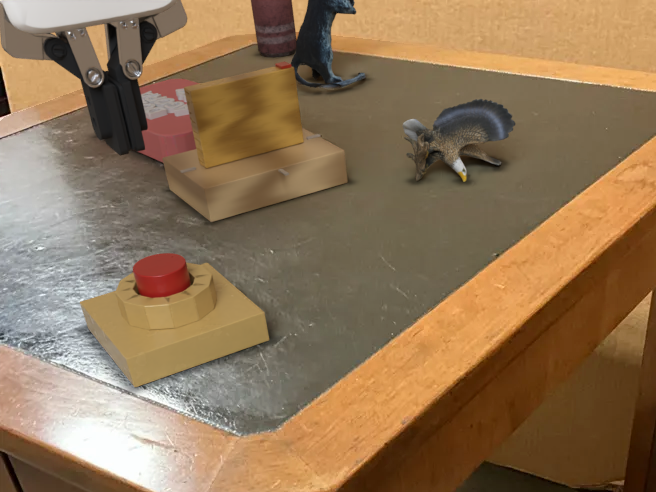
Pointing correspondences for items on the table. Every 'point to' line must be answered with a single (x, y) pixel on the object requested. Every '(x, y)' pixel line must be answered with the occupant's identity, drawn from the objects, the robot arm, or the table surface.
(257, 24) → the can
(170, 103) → the plaque
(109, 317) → the switch
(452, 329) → the table surface
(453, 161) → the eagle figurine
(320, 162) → the stand
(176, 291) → the button
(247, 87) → the wooden block
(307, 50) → the sculpture
